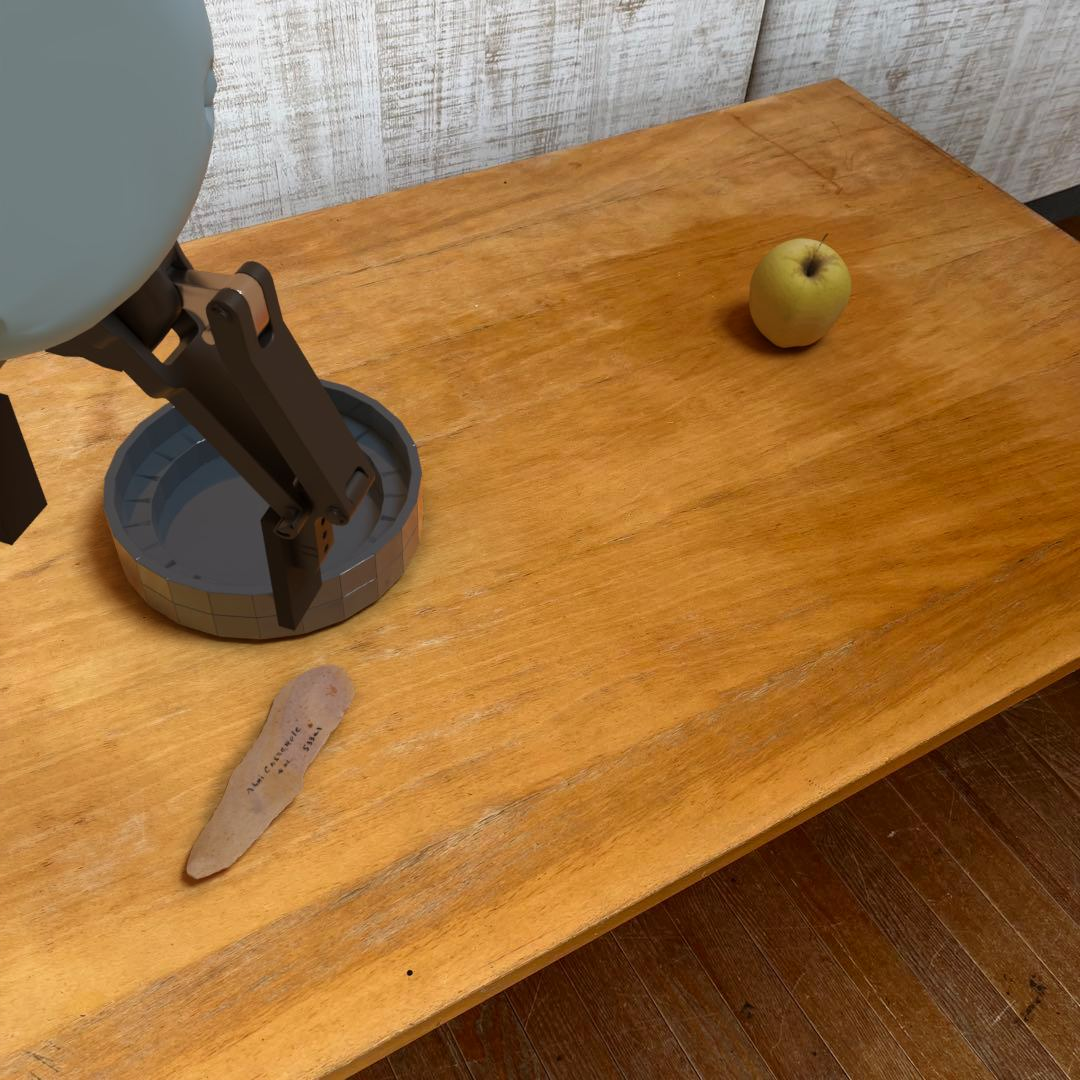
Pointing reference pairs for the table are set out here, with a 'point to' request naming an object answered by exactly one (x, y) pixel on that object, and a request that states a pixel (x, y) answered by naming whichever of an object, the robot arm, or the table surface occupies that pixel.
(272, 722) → the stone tool
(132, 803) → the table surface
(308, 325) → the table surface
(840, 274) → the apple
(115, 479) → the bowl
